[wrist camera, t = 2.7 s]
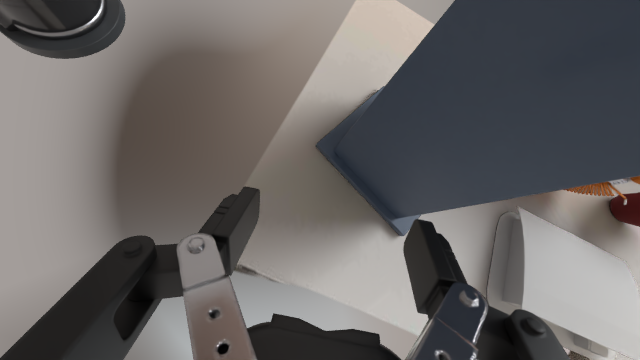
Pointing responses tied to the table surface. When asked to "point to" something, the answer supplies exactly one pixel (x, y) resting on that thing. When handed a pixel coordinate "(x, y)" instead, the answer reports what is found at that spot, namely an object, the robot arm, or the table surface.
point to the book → (565, 286)
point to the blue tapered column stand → (499, 109)
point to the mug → (627, 208)
